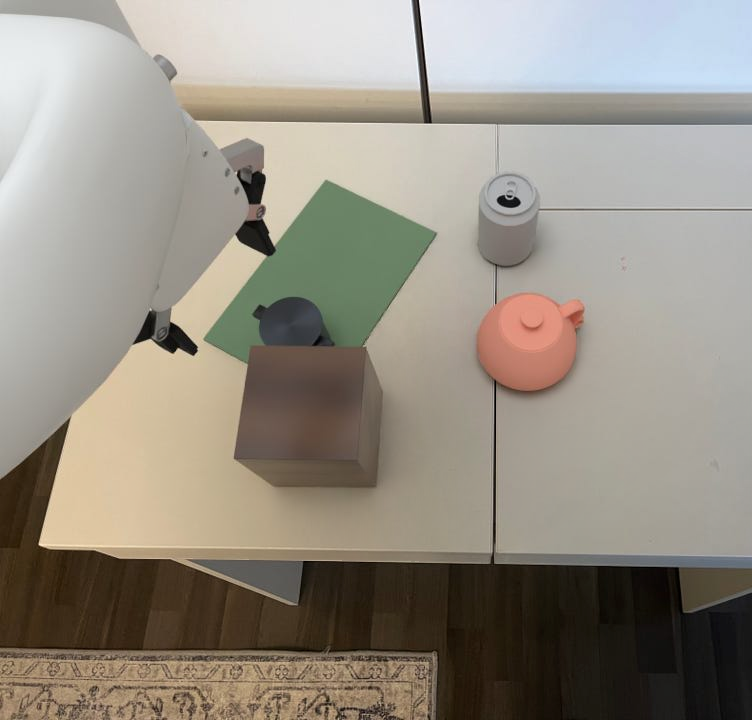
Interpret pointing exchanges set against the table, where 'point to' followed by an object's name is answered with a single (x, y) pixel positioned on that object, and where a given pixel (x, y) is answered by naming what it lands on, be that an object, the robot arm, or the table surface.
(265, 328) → the pot
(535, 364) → the sugar bowl
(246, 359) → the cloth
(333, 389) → the stand
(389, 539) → the table surface
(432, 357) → the table surface
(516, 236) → the can
